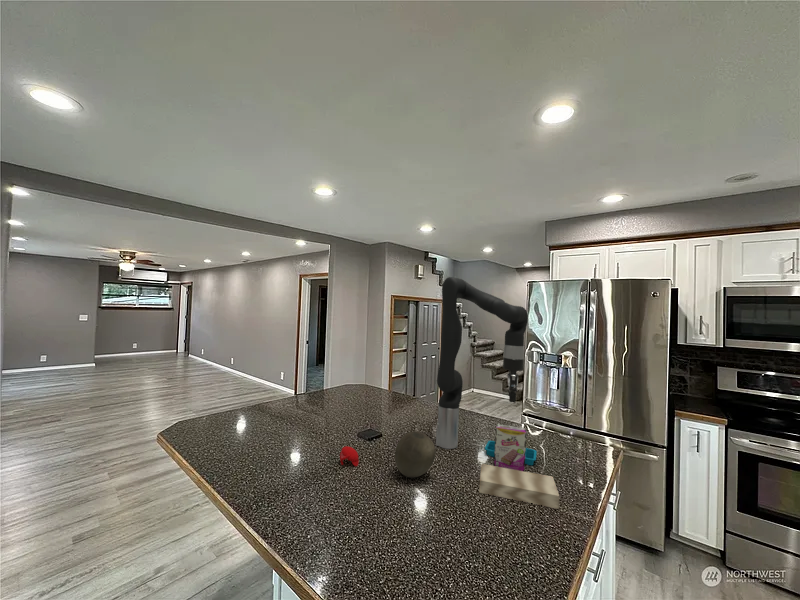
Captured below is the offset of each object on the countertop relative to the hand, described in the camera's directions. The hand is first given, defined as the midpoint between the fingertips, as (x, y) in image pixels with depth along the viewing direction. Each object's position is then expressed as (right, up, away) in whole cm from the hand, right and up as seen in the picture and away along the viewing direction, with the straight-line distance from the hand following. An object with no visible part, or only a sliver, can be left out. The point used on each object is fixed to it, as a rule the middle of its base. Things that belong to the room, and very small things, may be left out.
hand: (511, 399), depth 125 cm
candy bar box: (-1, -27, -1) cm, 27 cm away
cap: (-62, -24, -3) cm, 67 cm away
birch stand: (-4, -26, -15) cm, 30 cm away
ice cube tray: (+4, -29, +13) cm, 31 cm away
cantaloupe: (-38, -25, -9) cm, 46 cm away
